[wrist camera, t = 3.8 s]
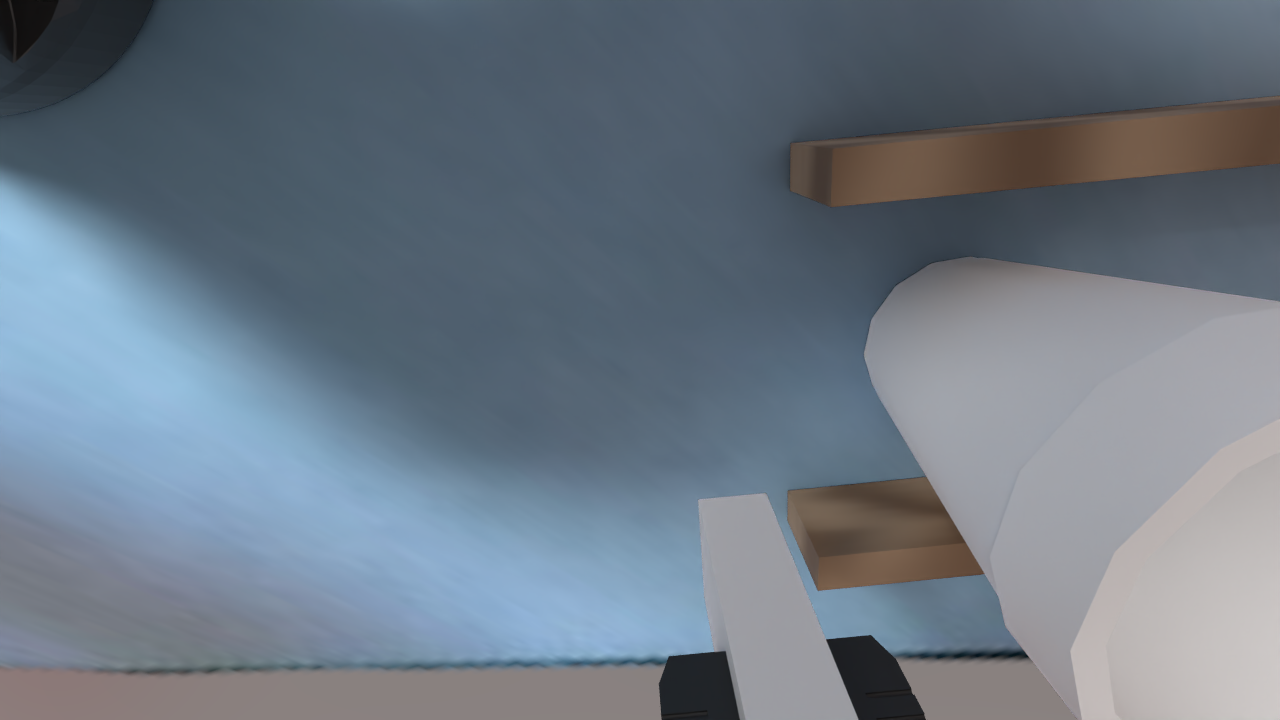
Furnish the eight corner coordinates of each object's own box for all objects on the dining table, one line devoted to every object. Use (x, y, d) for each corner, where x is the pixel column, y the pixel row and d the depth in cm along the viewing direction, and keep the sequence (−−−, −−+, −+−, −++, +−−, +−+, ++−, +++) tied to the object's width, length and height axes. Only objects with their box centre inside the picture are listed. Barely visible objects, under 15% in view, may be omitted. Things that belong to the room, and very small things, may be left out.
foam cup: (827, 465, 24) (1044, 816, 12) (815, 240, 20) (1106, 414, 8) (1062, 426, 24) (1527, 744, 12) (1091, 191, 20) (1801, 299, 8)
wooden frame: (787, 520, 25) (827, 612, 20) (790, 143, 19) (846, 150, 14) (1351, 464, 25) (1519, 543, 20) (1521, 72, 19) (1809, 57, 15)
